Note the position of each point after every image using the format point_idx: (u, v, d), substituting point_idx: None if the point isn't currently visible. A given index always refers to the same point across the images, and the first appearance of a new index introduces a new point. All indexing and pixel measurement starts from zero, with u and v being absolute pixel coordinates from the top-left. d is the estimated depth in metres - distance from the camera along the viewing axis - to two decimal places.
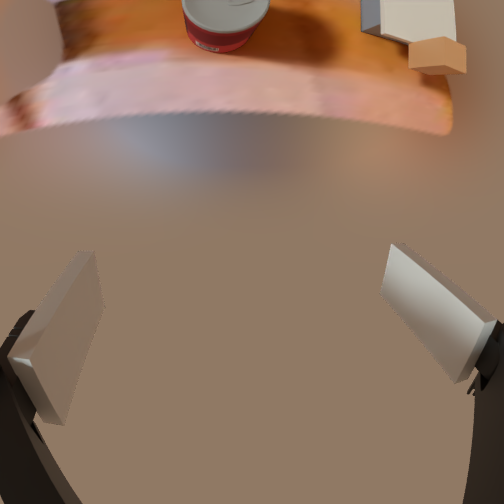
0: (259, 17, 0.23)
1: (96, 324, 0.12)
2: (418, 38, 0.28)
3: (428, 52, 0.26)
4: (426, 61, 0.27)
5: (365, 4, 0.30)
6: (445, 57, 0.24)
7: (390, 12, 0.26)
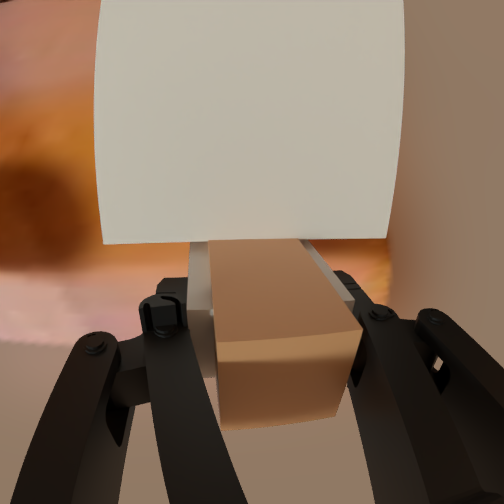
0: None
1: None
2: (229, 220, 0.12)
3: None
4: None
5: None
6: (223, 413, 0.08)
7: (116, 161, 0.10)
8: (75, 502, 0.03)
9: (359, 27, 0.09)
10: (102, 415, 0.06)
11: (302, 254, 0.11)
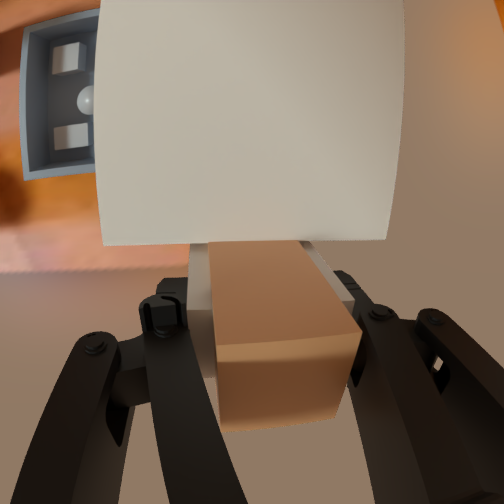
0: None
1: None
2: (229, 222, 0.12)
3: None
4: None
5: None
6: (223, 415, 0.08)
7: (116, 163, 0.10)
8: (75, 502, 0.03)
9: (359, 28, 0.10)
10: (102, 415, 0.06)
11: (302, 256, 0.11)
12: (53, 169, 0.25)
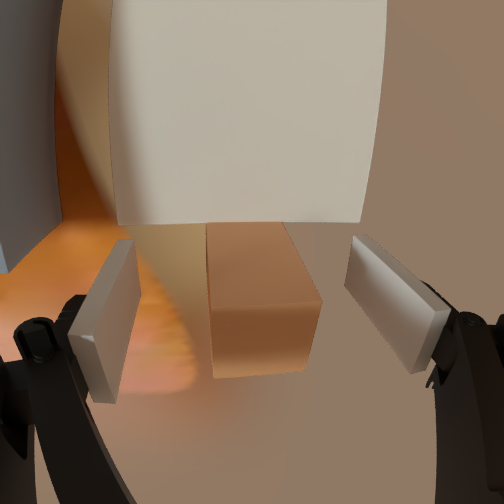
0: None
1: (135, 309, 0.13)
2: (224, 206, 0.14)
3: None
4: None
5: None
6: (215, 363, 0.11)
7: (129, 158, 0.13)
8: None
9: (342, 39, 0.11)
10: None
11: (283, 236, 0.14)
12: None
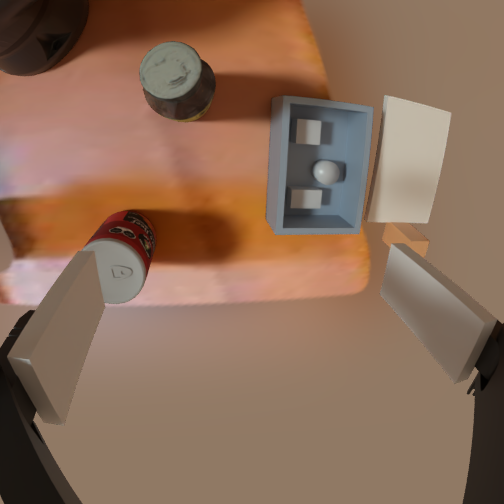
0: (138, 291, 0.33)
1: (96, 324, 0.12)
2: (395, 217, 0.44)
3: (397, 242, 0.43)
4: None
5: (269, 191, 0.40)
6: None
7: (376, 201, 0.43)
8: None
9: (430, 170, 0.41)
10: None
11: (412, 227, 0.44)
12: (306, 228, 0.38)
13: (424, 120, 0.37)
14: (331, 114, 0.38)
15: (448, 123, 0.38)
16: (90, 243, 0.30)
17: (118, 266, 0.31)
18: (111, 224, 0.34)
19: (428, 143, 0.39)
